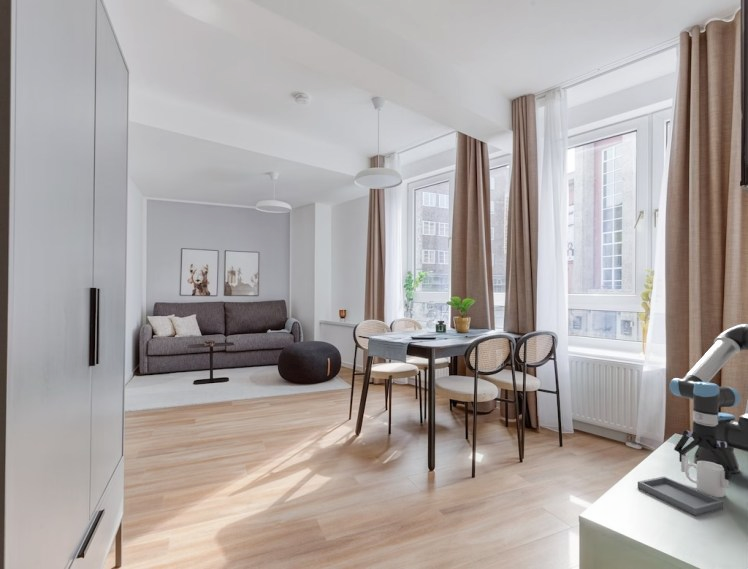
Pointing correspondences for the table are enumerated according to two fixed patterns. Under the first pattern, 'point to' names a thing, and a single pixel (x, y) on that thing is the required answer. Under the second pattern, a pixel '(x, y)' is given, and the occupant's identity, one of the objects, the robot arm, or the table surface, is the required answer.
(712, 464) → the cup
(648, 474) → the table surface
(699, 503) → the grey tray
